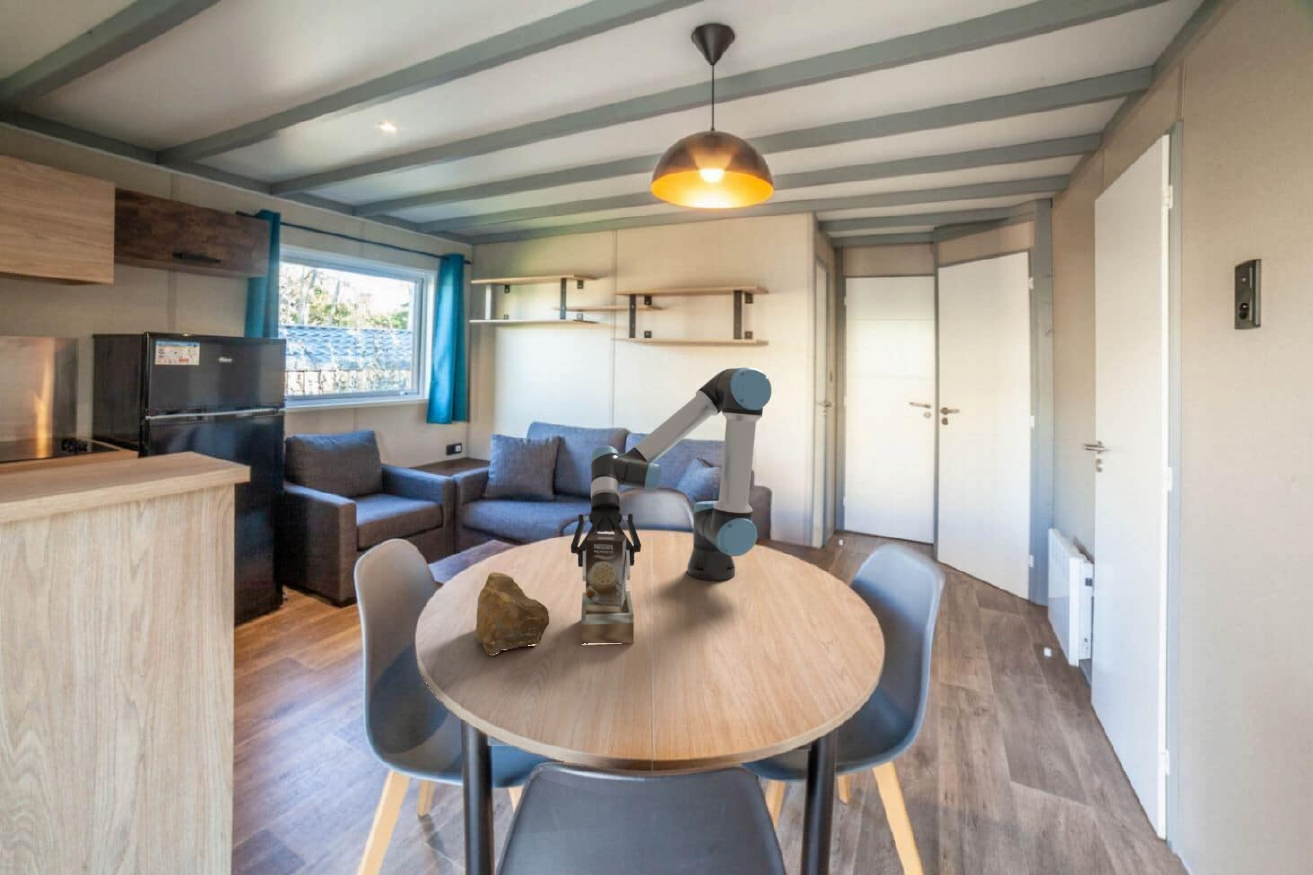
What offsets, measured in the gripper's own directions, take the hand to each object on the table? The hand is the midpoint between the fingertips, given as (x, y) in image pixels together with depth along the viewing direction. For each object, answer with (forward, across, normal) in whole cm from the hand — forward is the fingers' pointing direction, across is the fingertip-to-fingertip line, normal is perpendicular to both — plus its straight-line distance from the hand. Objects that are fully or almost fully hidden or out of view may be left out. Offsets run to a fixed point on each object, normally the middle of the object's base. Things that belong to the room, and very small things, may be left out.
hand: (606, 578), depth 135 cm
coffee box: (+3, 0, -7) cm, 8 cm away
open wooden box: (+8, 0, -12) cm, 15 cm away
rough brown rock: (+11, +22, -10) cm, 26 cm away
